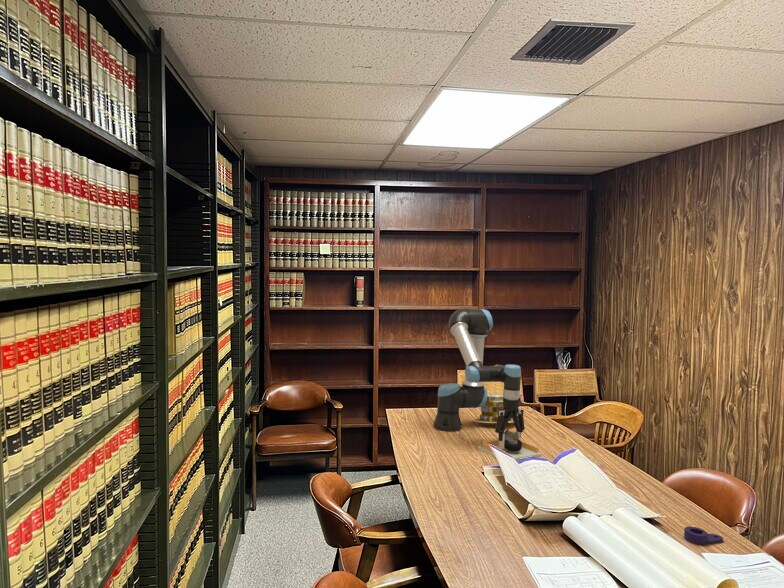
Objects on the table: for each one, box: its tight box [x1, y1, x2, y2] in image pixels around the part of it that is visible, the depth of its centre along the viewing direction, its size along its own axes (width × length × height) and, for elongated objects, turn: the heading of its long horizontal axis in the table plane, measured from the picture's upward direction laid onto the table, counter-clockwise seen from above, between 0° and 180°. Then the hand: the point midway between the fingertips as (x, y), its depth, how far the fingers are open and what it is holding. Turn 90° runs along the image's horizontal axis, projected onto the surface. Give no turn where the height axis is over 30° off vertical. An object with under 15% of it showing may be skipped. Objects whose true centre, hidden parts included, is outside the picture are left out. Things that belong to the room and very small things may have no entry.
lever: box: [683, 526, 724, 546], centre depth 164 cm, size 12×6×3 cm, turn 97°
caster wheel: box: [503, 427, 522, 452], centre depth 244 cm, size 7×11×10 cm
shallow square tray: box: [477, 439, 542, 459], centre depth 244 cm, size 20×21×4 cm
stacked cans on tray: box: [471, 393, 514, 427], centre depth 296 cm, size 25×25×17 cm
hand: (509, 446), depth 244 cm, fingers closed on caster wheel, 8 cm apart
